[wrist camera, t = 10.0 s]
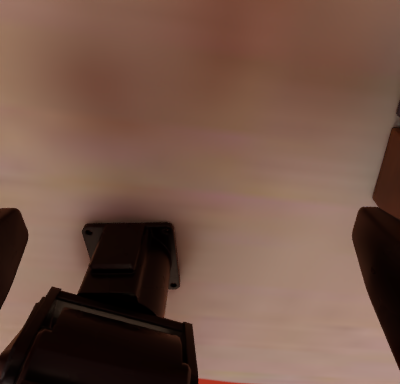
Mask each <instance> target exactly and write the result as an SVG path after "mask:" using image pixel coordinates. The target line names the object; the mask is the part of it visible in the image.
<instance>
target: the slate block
mask: <svg viewBox="0 0 400 384" xmlns="http://www.w3.org/2000/svg"><path fill="white" fill-rule="evenodd" d="M396 114H397V115H398V116H399V117H400V102H399V105H398V109H397V113H396Z"/></svg>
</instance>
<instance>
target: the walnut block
mask: <svg viewBox="0 0 400 384" xmlns="http://www.w3.org/2000/svg"><path fill="white" fill-rule="evenodd" d="M373 200H374V201H375V203H376V204H377V206H378V207H379V208H380V209H382V210H384V211H385V212H387V213H389V214H391V215H392V216H394V217H396V218H398V219H399V220H400V128H393V129H392V131H391V135H390V139H389V142H388V146H387V149H386V153H385V156H384V160H383V163H382V167H381V170H380V174H379V178H378V181H377V185H376V188H375V192H374V195H373Z"/></svg>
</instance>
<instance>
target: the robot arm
mask: <svg viewBox="0 0 400 384" xmlns="http://www.w3.org/2000/svg"><path fill="white" fill-rule="evenodd" d="M164 229H169V230H168V231H167V230H164ZM88 230H91V231H92V232H90V231H88ZM82 234H83V237H84V241H85V244H86V247H87V250H88V253H89V257H90V260H91V261H90V263H89V267H88V269H87V272H86V274H85V277H84V279H83V282H82V284H81V286H80V289H79V291H78V294H77V295H76V294H72V293H68V292H64V291H61V289H59V288H56V287H51V289H50V290H49V292H48V294H47V295H46V297H42V299H41V300H40V302H38V303H36V304H35V306H34V308H33V310H32V312H31V314H30V316H29V318H28V319H27V321H26V323H25V325H24V326H23V328H22V329H21V331H20V332H19V333H18V334H17V335H16V337H15V338H14V339H13V340H12V341H11V343H10V344H9V345H8V346H7V347H6V348H5V350H4V351H3V352H2V353H1V355H0V384H198V370H197V361H196V353H195V344H194V336H193V327H192V324H190V323H187V322H183V323H181V322H177V321H173V320H169V319H166V318H164V315H165V308H166V301H167V294H168V289H177V288H179V287H180V275H179V266H178V258H177V249H176V240H175V232H174V226H173V225H172V224H171V223H168V222H153V223H93V224H86V225H85V226H84V228H83V230H82ZM352 240H353V244H354V247H355V251H356V254H357V258H358V262H359V265H360V269H361V272H362V276H363V279H364V283H365V286H366V289H367V292H368V295H369V297H370V300H371V302H372V305H373V307H374V310H375V312H376V315H377V317H378V319H379V322H380V324H381V327H382V329H383V331H384V334H385V336H386V339H387V341H388V343H389V346H390V348H391V351H392V353H393V355H394V358H395V360H396V363H397V365H398V368H399V370H400V220H399V219H398V218H396V217H394V216H392V215H391V214H389V213H387V212H385V211H384V210H382V209H380V208H378V207H362V208H360V209H359V211H358V214H357V217H356V221H355V224H354V228H353V232H352ZM27 241H28V230H27V228H26V225H25V223H24V220H23V217H22V215H21V212H20V211H19V210H18V209H16V208H1V209H0V309H1V307H2V305H3V303H4V301H5V299H6V297H7V295H8V292H9V290H10V288H11V285H12V283H13V280H14V278H15V275H16V272H17V269H18V266H19V264H20V261H21V258H22V255H23V253H24V250H25V247H26V244H27Z"/></svg>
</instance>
